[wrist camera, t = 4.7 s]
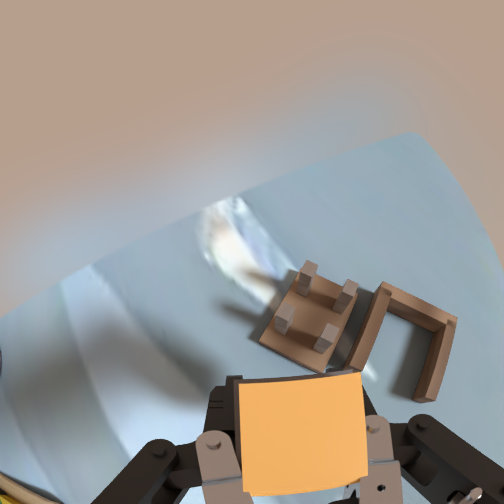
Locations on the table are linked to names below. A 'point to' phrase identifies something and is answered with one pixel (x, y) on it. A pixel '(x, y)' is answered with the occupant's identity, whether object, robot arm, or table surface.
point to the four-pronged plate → (310, 319)
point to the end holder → (419, 315)
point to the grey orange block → (300, 432)
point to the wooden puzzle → (19, 494)
